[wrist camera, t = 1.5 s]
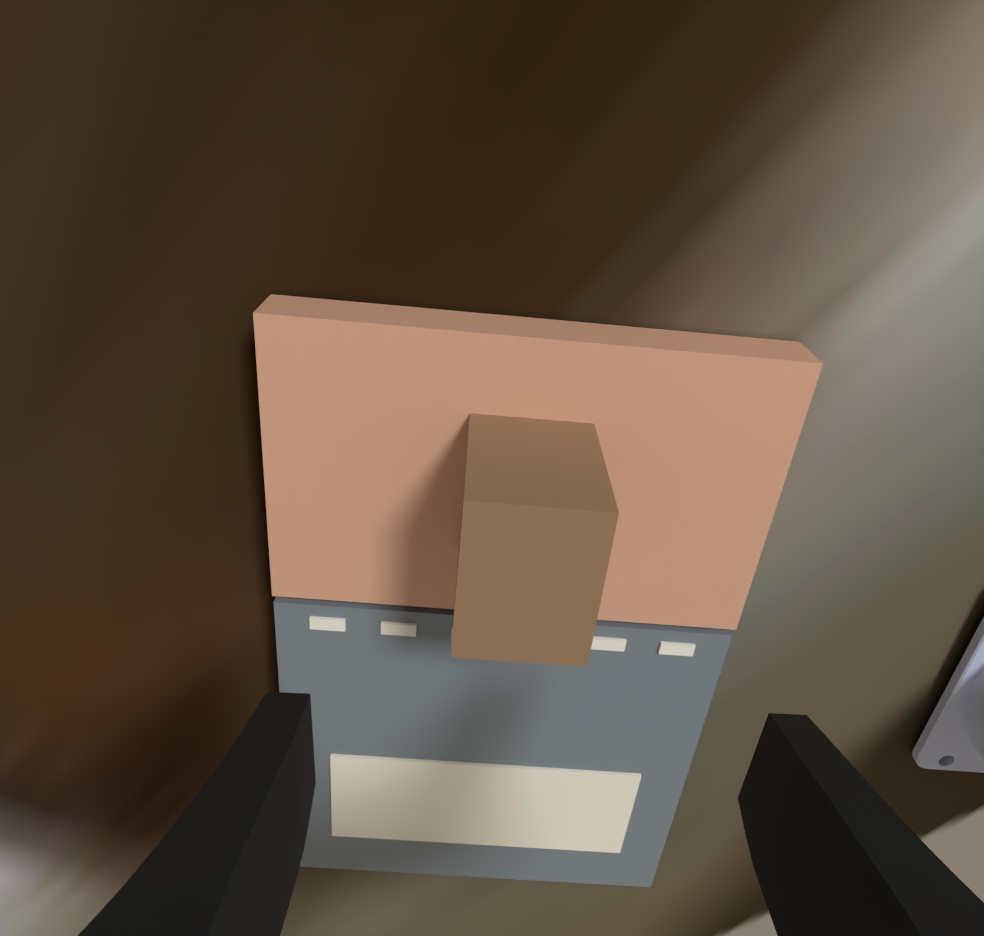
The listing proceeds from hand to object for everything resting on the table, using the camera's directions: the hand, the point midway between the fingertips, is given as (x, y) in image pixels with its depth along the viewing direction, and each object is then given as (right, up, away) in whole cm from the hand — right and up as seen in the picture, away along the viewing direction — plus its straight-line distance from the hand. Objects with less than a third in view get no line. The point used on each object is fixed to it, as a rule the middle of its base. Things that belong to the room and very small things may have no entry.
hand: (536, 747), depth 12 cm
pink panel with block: (0, +5, +8) cm, 9 cm away
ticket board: (-1, -4, +13) cm, 14 cm away
